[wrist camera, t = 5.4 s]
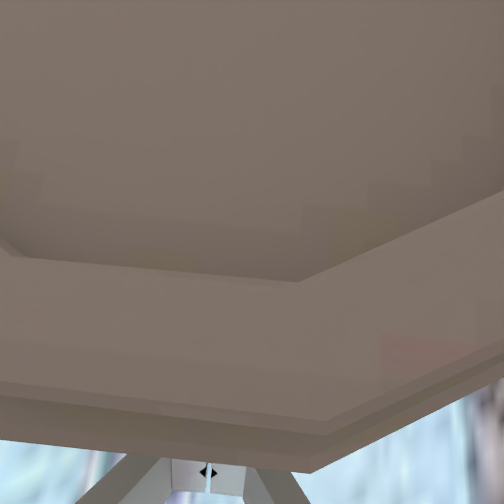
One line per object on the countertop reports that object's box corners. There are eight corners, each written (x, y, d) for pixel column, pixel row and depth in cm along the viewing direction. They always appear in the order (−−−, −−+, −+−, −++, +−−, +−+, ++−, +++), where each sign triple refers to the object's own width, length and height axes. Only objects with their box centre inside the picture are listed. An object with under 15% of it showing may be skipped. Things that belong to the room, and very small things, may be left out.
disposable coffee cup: (63, 318, 17) (-984, 163, 2) (170, 96, 19) (-52, -677, 5) (310, 418, 17) (846, 992, 2) (392, 177, 19) (926, -419, 4)
